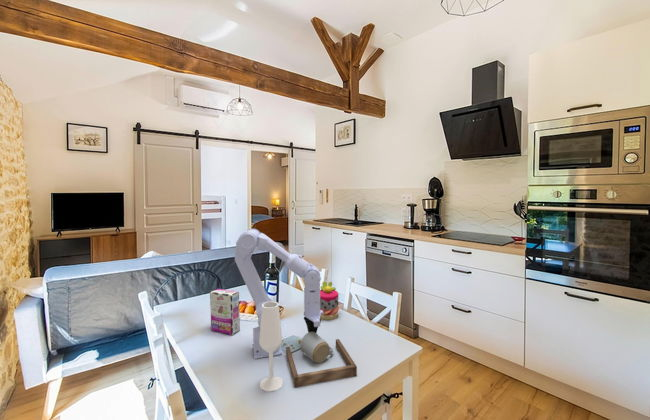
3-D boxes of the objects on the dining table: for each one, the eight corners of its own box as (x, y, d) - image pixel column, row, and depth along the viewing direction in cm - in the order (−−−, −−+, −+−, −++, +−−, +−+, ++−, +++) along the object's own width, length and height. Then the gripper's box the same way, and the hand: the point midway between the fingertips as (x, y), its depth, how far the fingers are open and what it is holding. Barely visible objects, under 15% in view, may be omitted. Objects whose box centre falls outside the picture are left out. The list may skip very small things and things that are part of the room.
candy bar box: (240, 330, 118) (239, 291, 117) (232, 336, 113) (231, 295, 112) (219, 325, 122) (218, 287, 121) (210, 331, 117) (209, 291, 116)
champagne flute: (283, 375, 89) (282, 299, 87) (282, 390, 82) (281, 308, 81) (261, 377, 88) (259, 300, 87) (258, 392, 82) (257, 309, 80)
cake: (342, 318, 129) (342, 285, 128) (320, 322, 125) (320, 288, 124) (332, 309, 138) (332, 279, 137) (312, 313, 134) (312, 281, 133)
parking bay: (294, 387, 83) (294, 377, 83) (286, 355, 100) (286, 346, 100) (356, 375, 89) (356, 366, 89) (338, 346, 105) (338, 339, 105)
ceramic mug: (313, 367, 93) (313, 344, 92) (299, 356, 99) (299, 334, 99) (338, 356, 99) (338, 335, 99) (323, 346, 106) (324, 326, 105)
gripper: (328, 307, 97) (328, 346, 98) (317, 292, 111) (317, 326, 112) (308, 309, 95) (308, 349, 96) (299, 294, 109) (300, 329, 110)
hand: (312, 337), depth 103 cm, fingers closed
